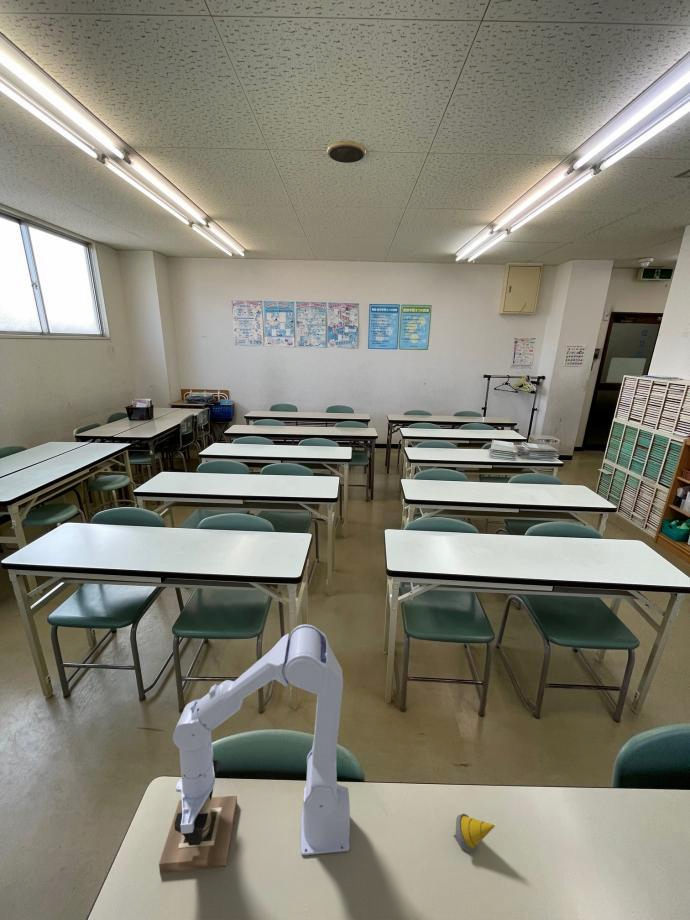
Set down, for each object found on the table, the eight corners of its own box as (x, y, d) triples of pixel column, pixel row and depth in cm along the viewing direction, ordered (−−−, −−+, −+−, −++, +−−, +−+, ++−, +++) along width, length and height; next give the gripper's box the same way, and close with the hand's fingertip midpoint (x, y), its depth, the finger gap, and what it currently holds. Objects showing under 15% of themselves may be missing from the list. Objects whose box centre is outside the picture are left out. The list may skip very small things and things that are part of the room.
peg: (214, 823, 78) (212, 792, 76) (208, 846, 74) (206, 813, 72) (195, 824, 77) (193, 792, 76) (188, 847, 74) (186, 814, 72)
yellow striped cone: (457, 819, 80) (497, 809, 76) (464, 855, 75) (507, 847, 71) (442, 815, 78) (482, 804, 74) (448, 852, 73) (491, 843, 69)
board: (237, 803, 82) (236, 795, 81) (225, 866, 71) (225, 857, 70) (179, 807, 81) (179, 799, 80) (159, 872, 70) (158, 863, 69)
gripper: (187, 731, 79) (191, 784, 82) (160, 806, 65) (166, 867, 68) (222, 729, 80) (224, 781, 82) (202, 803, 66) (206, 863, 68)
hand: (200, 820), depth 75 cm, fingers open, 7 cm apart
